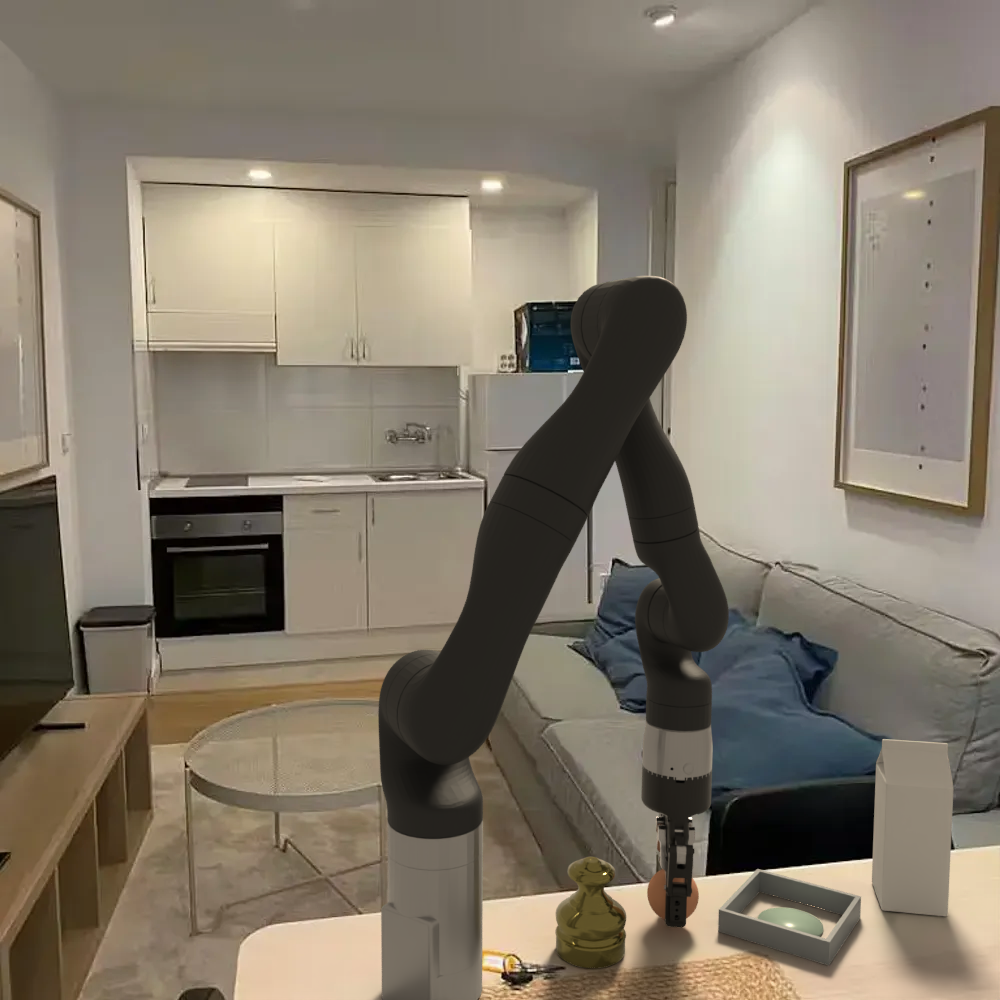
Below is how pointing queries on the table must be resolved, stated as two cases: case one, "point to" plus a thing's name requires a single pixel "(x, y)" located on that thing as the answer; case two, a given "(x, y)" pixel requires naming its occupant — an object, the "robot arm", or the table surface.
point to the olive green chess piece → (590, 918)
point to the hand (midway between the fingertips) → (672, 911)
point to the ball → (658, 894)
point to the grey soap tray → (790, 916)
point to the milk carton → (912, 827)
